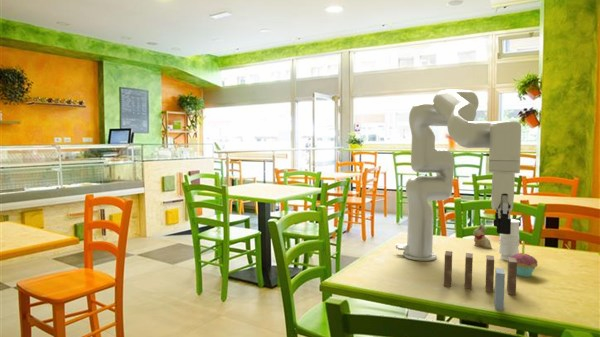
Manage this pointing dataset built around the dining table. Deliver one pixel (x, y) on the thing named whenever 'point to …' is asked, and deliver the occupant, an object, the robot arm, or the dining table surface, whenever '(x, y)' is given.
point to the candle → (510, 241)
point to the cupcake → (525, 263)
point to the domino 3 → (489, 273)
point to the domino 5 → (511, 276)
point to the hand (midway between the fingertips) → (502, 230)
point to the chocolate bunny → (481, 238)
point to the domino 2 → (468, 271)
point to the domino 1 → (448, 269)
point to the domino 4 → (499, 288)
